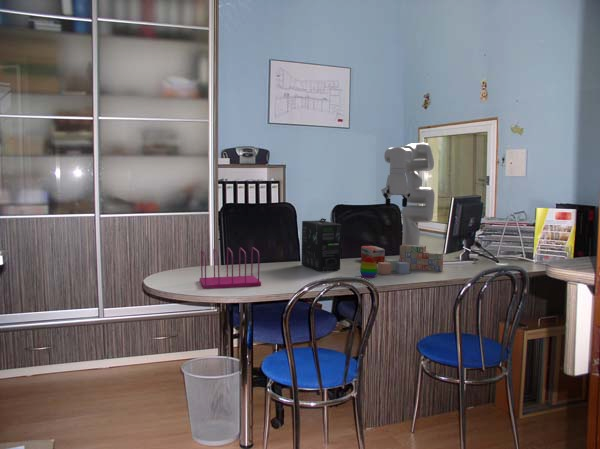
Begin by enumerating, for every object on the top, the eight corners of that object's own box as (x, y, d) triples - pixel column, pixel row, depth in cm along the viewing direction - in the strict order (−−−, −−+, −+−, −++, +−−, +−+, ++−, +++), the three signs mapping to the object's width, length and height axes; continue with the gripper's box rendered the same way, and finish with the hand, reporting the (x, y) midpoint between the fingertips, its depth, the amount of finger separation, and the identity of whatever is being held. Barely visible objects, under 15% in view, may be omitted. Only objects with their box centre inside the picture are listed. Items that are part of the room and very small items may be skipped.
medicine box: (385, 263, 300) (385, 248, 299) (371, 263, 298) (371, 249, 297) (373, 259, 314) (373, 245, 314) (360, 259, 312) (360, 246, 311)
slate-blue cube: (395, 272, 269) (395, 262, 269) (404, 271, 270) (404, 261, 270) (399, 273, 264) (399, 263, 264) (409, 273, 266) (409, 263, 265)
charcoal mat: (367, 270, 277) (367, 269, 277) (397, 268, 281) (397, 268, 281) (378, 275, 261) (378, 274, 261) (411, 274, 265) (411, 273, 265)
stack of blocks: (443, 270, 278) (443, 246, 277) (440, 272, 273) (440, 247, 272) (402, 266, 288) (403, 244, 287) (399, 268, 283) (399, 245, 282)
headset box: (341, 270, 276) (341, 219, 274) (320, 272, 271) (320, 220, 268) (320, 263, 296) (320, 216, 294) (300, 265, 291) (300, 217, 288)
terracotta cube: (377, 272, 268) (377, 262, 268) (387, 271, 269) (387, 262, 269) (381, 274, 263) (381, 264, 263) (391, 273, 264) (391, 263, 264)
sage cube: (384, 269, 277) (384, 259, 277) (393, 268, 279) (393, 259, 278) (388, 270, 273) (388, 261, 272) (397, 270, 274) (397, 260, 273)
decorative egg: (358, 278, 254) (359, 257, 253) (361, 275, 262) (361, 255, 261) (376, 279, 252) (376, 258, 251) (378, 276, 260) (378, 255, 259)
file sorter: (261, 286, 235) (261, 250, 234) (203, 289, 228) (203, 252, 227) (253, 279, 252) (253, 245, 251) (199, 281, 245) (199, 247, 244)
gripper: (407, 173, 276) (406, 206, 277) (378, 172, 269) (377, 206, 270) (416, 172, 269) (415, 207, 270) (386, 171, 263) (385, 206, 263)
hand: (396, 206), depth 270 cm, fingers open, 9 cm apart
